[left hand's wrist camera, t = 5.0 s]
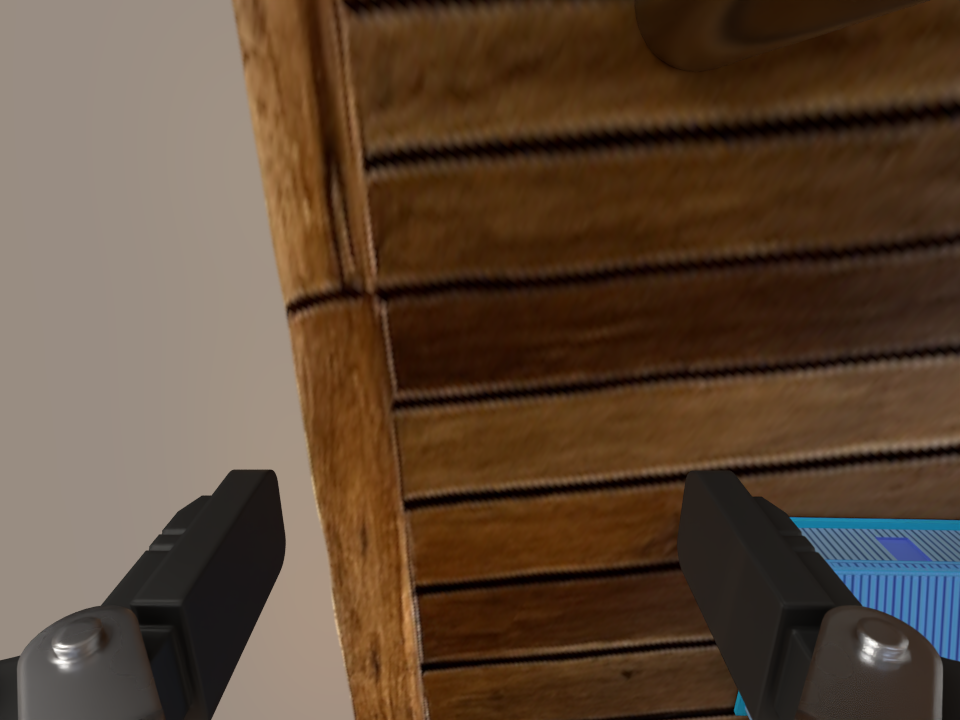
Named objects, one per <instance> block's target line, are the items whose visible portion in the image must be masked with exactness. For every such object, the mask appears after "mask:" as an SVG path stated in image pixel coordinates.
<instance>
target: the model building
mask: <svg viewBox="0 0 960 720" xmlns="http://www.w3.org/2000/svg"><path fill="white" fill-rule="evenodd" d="M790 519H791V520H792V521H793V522H794V523H795V525H796V526H797V527H798V528H799V529H800V531H801V532H802V536H805V537H806V538H807V539H808V540H809V541H810V543H811V544H812V545H813V546H814V548H815V552H819V554H820V555H821V556H822V557H823V558H824V560H825V561H826V562H827V563H828V564H829V566H830V567H831V568H832V569H833V571H834V572H835V573H836V574H837V575H838V577H839V578H840V579H841V580H842V581H843V583H844V584H845V585H846V586H847V587H848V589H849V590H850V591H851V592H852V593H853V595H854V596H855V597H856V598H857V600H858V601H859V602H860V603H861V604H862V606H864V607H868V608H872V609H876V610H879V611H882V612H885V613H887V614H889V615H892V616H894V617H896V618H898V619H900V620H902V621H904V622H905V623H907V624H908V625H910V626H911V627H913V628H914V629H916V630H917V631H918V632H920V633H921V634H922V635H923V636H924V637H925V638H926V639H927V640H928V641H929V642H930V643H931V644H932V645H933V646H934V648H935V649H936V651H937V652H938V654H939V655H940V657H944V658H947V659H951V660H956V661H960V520H921V519H862V518H802V517H790ZM734 712H735V714H736V715H743V716H748V717H749V719H750V720H752V718H751V716H750V714H749V712H748V710H747V708H746V705H745V703H744V701H743V699H742V697H741V695H740V693H739V691H738V695H737V699H736V704H735V708H734Z"/></svg>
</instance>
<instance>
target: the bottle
mask: <svg viewBox="0 0 960 720" xmlns="http://www.w3.org/2000/svg"><path fill="white" fill-rule="evenodd" d="M926 1H929V0H635V12H636V19H637V23H638V27H639V30H640V32H641V35H642V37H643V39H644V40H645V42H646V44H647V45H648V47H649V48H650V49H651V51H652V52H653V53H654V54H655V55H656V56H657V57H658V58H659V59H661V60H662V61H663V62H665V63H666V64H668V65H670V66H672V67H675V68H677V69H680V70H685V71H695V72H699V71H708V70H712V69H715V68H719V67H722V66H725V65H728V64H731V63H734V62H738V61H741V60H744V59H747V58H750V57H753V56H756V55H760V54H763V53H766V52H769V51H772V50H775V49H779V48H782V47H785V46H788V45H791V44H794V43H797V42H801V41H804V40H807V39H810V38H813V37H816V36H819V35H823V34H826V33H829V32H832V31H835V30H838V29H841V28H845V27H848V26H851V25H854V24H857V23H860V22H863V21H867V20H870V19H873V18H876V17H879V16H882V15H885V14H889V13H892V12H895V11H898V10H901V9H904V8H907V7H911V6H914V5H917V4H920V3H923V2H926Z"/></svg>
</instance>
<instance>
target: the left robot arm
mask: <svg viewBox="0 0 960 720" xmlns="http://www.w3.org/2000/svg"><path fill="white" fill-rule="evenodd" d="M285 546H286V539H285V530H284V523H283V516H282V509H281V501H280V494H279V487H278V480H277V476H276V474H275V472H274V471H273V470H232V471H230V472H229V473H228V475H227V476H226V477H225V479H224V480H223V481H222V483H221V484H220V485H219V487H218V488H217V489H216V491H215V492H214V493H213V494H212V496H201V497H199V498H198V499H196V500H195V501H193V502H192V503H190V504H189V505H187V506H186V507H184V508H183V509H181V510H180V511H178V512H177V513H176V515H175V516H174V517H173V518H172V520H171V521H170V522H169V523H168V524H167V526H166V527H165V528H164V529H163V530H162V534H160V535H158V537H157V538H156V539H155V540H154V541H153V543H152V544H151V545H150V546H149V551H145V552H144V554H143V555H142V556H141V557H140V559H139V560H138V561H137V562H136V564H135V565H134V566H133V567H132V568H131V570H130V571H129V572H128V573H127V574H126V576H125V577H124V578H123V579H122V581H121V582H120V583H119V584H118V585H117V587H116V588H115V589H114V590H113V592H112V593H111V594H110V595H109V596H108V598H107V599H106V600H105V601H104V603H103V604H102V605H101V606H96V607H92V608H88V609H84V610H81V611H78V612H75V613H73V614H71V615H68V616H66V617H64V618H62V619H60V620H58V621H56V622H55V623H53V624H52V625H50V626H49V627H47V628H46V629H44V630H43V631H42V632H41V633H39V634H38V635H37V636H36V637H35V638H34V639H33V640H32V641H31V642H30V643H29V644H28V645H27V646H26V648H25V649H24V651H23V652H22V654H21V655H20V656H17V657H13V658H9V659H4V660H0V720H211V719H212V717H213V714H214V712H215V710H216V708H217V706H218V704H219V702H220V699H221V697H222V695H223V693H224V691H225V689H226V687H227V684H228V682H229V680H230V678H231V676H232V674H233V672H234V669H235V667H236V665H237V663H238V661H239V659H240V656H241V654H242V652H243V650H244V648H245V646H246V644H247V642H248V639H249V637H250V635H251V633H252V631H253V629H254V626H255V624H256V622H257V620H258V618H259V616H260V614H261V612H262V609H263V607H264V605H265V603H266V601H267V599H268V596H269V594H270V592H271V590H272V588H273V586H274V584H275V582H276V579H277V577H278V575H279V573H280V571H281V568H282V565H283V561H284V556H285ZM677 548H678V557H679V562H680V566H681V569H682V572H683V574H684V576H685V578H686V580H687V583H688V585H689V587H690V589H691V591H692V593H693V595H694V597H695V600H696V602H697V604H698V606H699V608H700V610H701V612H702V614H703V616H704V619H705V621H706V623H707V625H708V627H709V629H710V631H711V633H712V636H713V638H714V640H715V642H716V644H717V646H718V648H719V650H720V652H721V655H722V657H723V659H724V661H725V663H726V665H727V667H728V669H729V672H730V674H731V676H732V678H733V680H734V682H735V684H736V686H737V688H738V691H739V693H740V695H741V697H742V699H743V701H744V703H745V705H746V708H747V710H748V712H749V714H750V716H751V718H752V720H960V661H956V660H951V659H947V658H944V657H940V655H939V654H938V652H937V651H936V649H935V648H934V646H933V645H932V644H931V643H930V642H929V641H928V640H927V639H926V638H925V637H924V636H923V635H922V634H921V633H920V632H918V631H917V630H916V629H914V628H913V627H911V626H910V625H908V624H907V623H905V622H904V621H902V620H900V619H898V618H896V617H894V616H892V615H889V614H887V613H885V612H882V611H879V610H876V609H872V608H868V607H864V606H862V604H861V603H860V602H859V601H858V600H857V598H856V597H855V596H854V595H853V593H852V592H851V591H850V590H849V589H848V587H847V586H846V585H845V584H844V583H843V581H842V580H841V579H840V578H839V577H838V575H837V574H836V573H835V572H834V571H833V569H832V568H831V567H830V566H829V564H828V563H827V562H826V561H825V560H824V558H823V557H822V556H821V555H820V554H819V552H815V548H814V546H813V545H812V544H811V543H810V541H809V540H808V539H807V538H806V537H805V536H802V532H801V531H800V529H799V528H798V527H797V526H796V525H795V523H794V522H793V521H792V520H791V519H790V517H789V516H788V515H787V514H786V513H785V512H784V511H782V510H781V509H779V508H778V507H776V506H775V505H773V504H772V503H770V502H769V501H767V500H766V499H764V498H763V497H752V496H751V495H750V493H749V492H748V491H747V489H746V488H745V487H744V486H743V484H742V483H741V482H740V480H739V479H738V478H737V476H736V475H735V474H734V473H733V472H732V471H690V472H689V473H688V475H687V478H686V482H685V489H684V496H683V503H682V510H681V517H680V524H679V531H678V539H677Z"/></svg>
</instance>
